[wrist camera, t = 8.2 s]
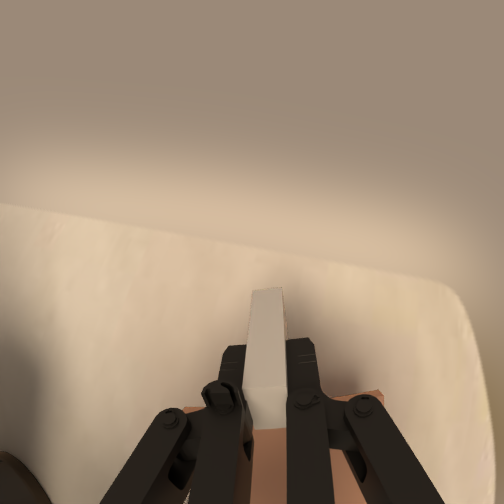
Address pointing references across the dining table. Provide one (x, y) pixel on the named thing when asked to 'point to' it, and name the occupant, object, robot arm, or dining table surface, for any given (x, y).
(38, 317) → the dining table surface
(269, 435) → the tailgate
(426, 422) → the dining table surface
